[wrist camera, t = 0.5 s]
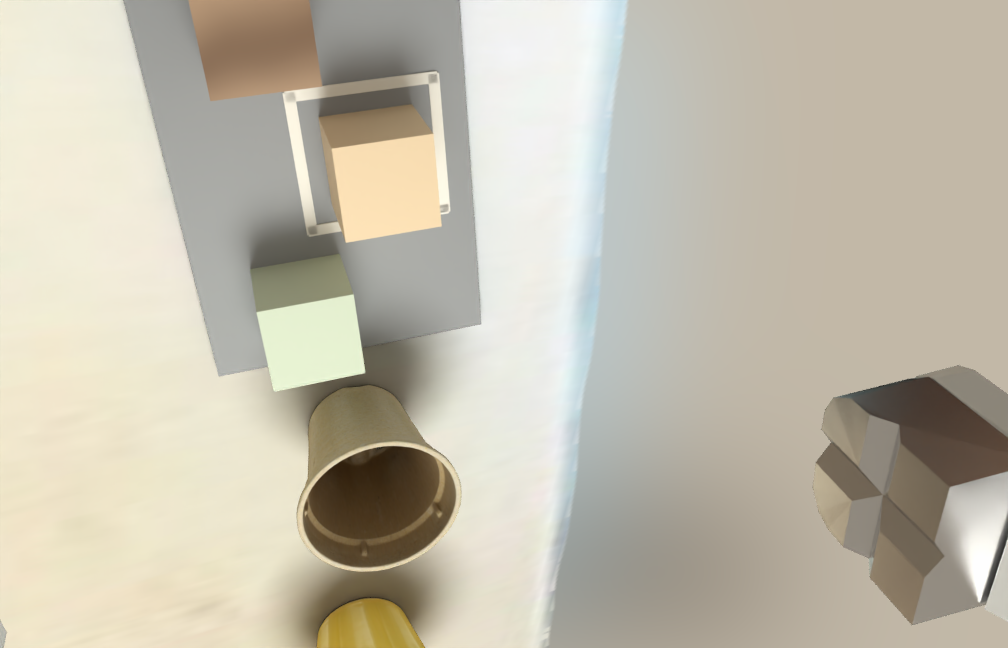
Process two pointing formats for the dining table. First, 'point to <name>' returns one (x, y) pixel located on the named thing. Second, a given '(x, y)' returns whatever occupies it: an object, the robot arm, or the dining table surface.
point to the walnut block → (255, 46)
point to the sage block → (307, 321)
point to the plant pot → (368, 626)
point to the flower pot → (373, 484)
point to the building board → (324, 169)
